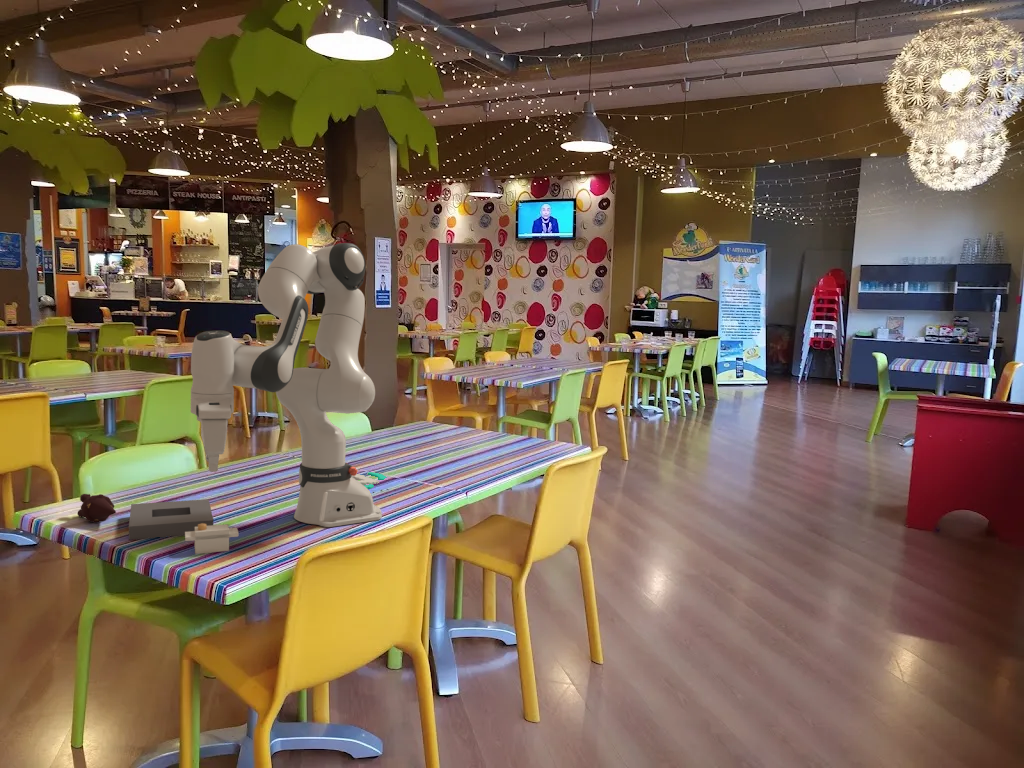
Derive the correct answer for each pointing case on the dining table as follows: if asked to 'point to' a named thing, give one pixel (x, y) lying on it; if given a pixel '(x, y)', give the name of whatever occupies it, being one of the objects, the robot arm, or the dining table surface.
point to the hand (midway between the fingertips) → (211, 466)
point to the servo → (211, 537)
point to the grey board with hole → (168, 518)
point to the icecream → (96, 507)
